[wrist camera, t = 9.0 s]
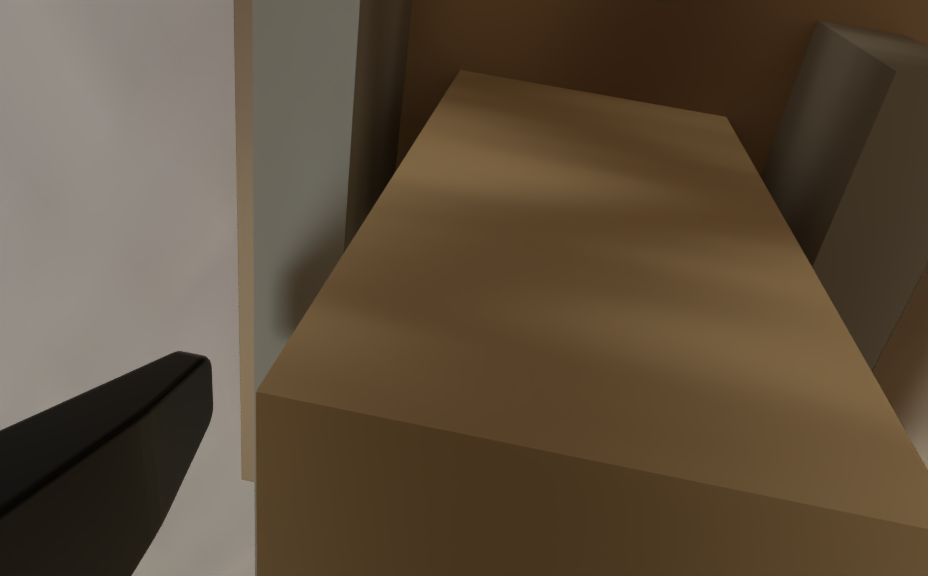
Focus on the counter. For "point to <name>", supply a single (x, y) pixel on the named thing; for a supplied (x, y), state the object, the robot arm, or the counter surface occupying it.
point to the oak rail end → (579, 368)
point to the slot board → (594, 71)
